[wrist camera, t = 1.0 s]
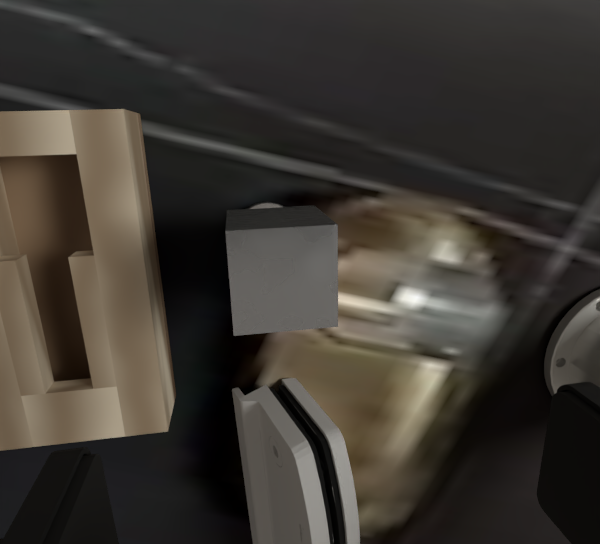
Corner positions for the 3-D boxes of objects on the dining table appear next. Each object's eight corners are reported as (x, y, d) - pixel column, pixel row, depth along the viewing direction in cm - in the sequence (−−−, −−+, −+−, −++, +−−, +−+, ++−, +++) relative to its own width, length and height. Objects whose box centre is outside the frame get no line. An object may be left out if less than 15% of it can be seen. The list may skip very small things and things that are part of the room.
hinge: (231, 384, 34) (290, 463, 25) (286, 366, 36) (358, 433, 27) (253, 550, 38) (309, 663, 30) (300, 526, 41) (365, 625, 32)
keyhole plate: (140, 113, 27) (123, 109, 23) (175, 394, 33) (167, 431, 29) (-54, 118, 26) (-109, 113, 22) (19, 410, 32) (-13, 452, 27)
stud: (301, 195, 30) (337, 224, 20) (303, 264, 32) (337, 326, 21) (228, 198, 29) (225, 230, 19) (233, 269, 31) (233, 335, 21)
